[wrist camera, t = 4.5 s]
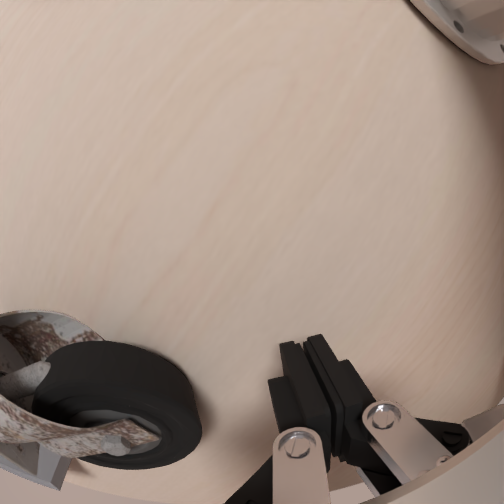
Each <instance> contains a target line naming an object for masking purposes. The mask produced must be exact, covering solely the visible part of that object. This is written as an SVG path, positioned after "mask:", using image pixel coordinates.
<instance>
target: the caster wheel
mask: <svg viewBox="0 0 504 504" xmlns="http://www.w3.org/2000/svg"><path fill="white" fill-rule="evenodd" d="M3 375H4V376H3ZM201 437H202V426H201V422H200V419H199V415H198V411H197V408H196V404H195V400H194V396H193V392H192V388H191V386H190V384H189V382H188V381H187V379H186V377H185V376H184V375H183V374H182V373H181V372H180V371H179V370H178V369H177V368H176V367H175V366H173V365H172V364H171V363H169V362H168V361H166V360H164V359H163V358H161V357H159V356H158V355H156V354H154V353H151V352H149V351H146V350H144V349H141V348H139V347H136V346H132V345H128V344H124V343H118V342H111V341H104V339H103V338H102V337H101V336H99V335H98V334H97V333H96V332H94V331H93V330H92V329H90V328H89V327H87V326H86V325H85V324H83V323H81V322H80V321H79V320H77V319H76V318H73V317H71V316H68V315H66V314H62V313H58V312H54V311H46V310H20V311H13V312H7V313H3V314H0V455H2V456H3V457H4V458H6V459H7V460H9V461H10V462H12V463H13V464H15V465H16V466H18V467H19V468H21V469H22V470H24V471H26V472H27V473H29V474H31V475H34V476H37V470H38V458H39V449H40V444H41V445H42V446H44V447H45V448H47V449H48V450H50V451H52V452H54V453H56V454H59V455H61V456H64V457H66V458H78V459H80V460H83V461H86V462H89V463H92V464H95V465H99V466H103V467H109V468H116V469H125V470H139V469H150V468H156V467H162V466H166V465H169V464H172V463H174V462H177V461H179V460H181V459H183V458H185V457H186V456H187V455H188V454H190V453H191V452H192V451H193V450H194V449H195V448H196V447H197V445H198V444H199V442H200V440H201Z"/></svg>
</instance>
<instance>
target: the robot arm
mask: <svg viewBox="0 0 504 504" xmlns="http://www.w3.org/2000/svg"><path fill="white" fill-rule="evenodd" d="M410 1H411V2H412V4H413V5H414V6H415V7H416V8H417V9H418V10H419V11H420V12H421V13H422V14H423V15H424V16H425V17H426V18H427V19H428V20H429V21H430V22H431V23H432V24H433V25H434V26H435V27H436V28H438V29H439V30H440V31H441V32H442V33H443V34H444V35H445V36H446V37H447V38H449V39H450V40H451V41H452V42H453V43H454V44H456V45H457V46H458V47H459V48H461V49H462V50H463V51H465V52H466V53H468V54H469V55H470V56H472V57H473V58H475V59H477V60H479V61H481V62H483V63H486V64H490V65H495V64H501V63H504V0H410ZM279 345H280V353H281V359H282V366H283V372H284V376H283V377H278V378H274V379H269V380H268V385H269V390H270V395H271V399H272V404H273V408H274V413H275V417H276V421H277V425H278V429H279V433H280V434H279V435H278V436H277V437H276V439H275V441H274V443H273V455H272V456H271V457H270V458H269V459H268V460H267V461H266V462H265V463H264V464H263V465H262V467H261V468H260V469H259V470H258V471H257V472H256V473H255V474H254V475H253V476H252V477H251V478H250V479H249V480H248V481H247V482H246V483H245V484H244V485H243V486H242V487H241V488H240V489H238V490H237V491H236V492H235V493H234V494H233V495H232V496H231V497H230V498H229V499H228V500H227V501H226V502H225V503H224V504H331V501H330V493H329V486H328V480H327V473H328V471H329V470H330V458H331V453H332V456H333V457H336V456H338V457H339V460H340V462H343V461H346V462H347V464H350V465H353V466H354V467H355V469H356V471H357V473H358V474H359V475H360V477H361V478H362V480H363V481H364V482H365V484H366V485H367V487H368V488H369V489H370V491H371V492H372V493H373V495H374V496H375V498H373V499H370V500H368V501H365V502H363V503H360V504H504V404H501V405H498V406H496V407H494V408H492V409H490V410H487V411H485V412H483V413H481V414H478V415H476V416H474V417H471V418H469V419H467V420H464V421H463V422H462V424H456V423H449V422H441V421H433V420H426V419H420V418H414V417H413V416H412V415H411V414H410V413H409V412H408V411H406V410H405V409H404V408H403V407H402V406H401V405H400V404H398V403H397V402H394V401H389V400H383V401H378V402H376V400H375V398H374V397H373V395H372V394H371V392H370V391H369V389H368V388H367V386H366V385H365V383H364V382H363V380H362V379H361V377H360V376H359V374H358V373H357V371H356V370H355V368H354V367H353V365H352V364H351V362H350V361H349V360H347V359H346V360H343V361H338V360H337V358H336V356H335V355H334V353H333V352H332V350H331V348H330V347H329V345H328V343H327V342H326V340H325V339H324V337H323V335H322V334H318V335H314V336H311V337H308V338H307V341H305V342H303V349H302V347H301V345H300V343H297V344H295V343H294V341H290V342H286V343H281V344H279ZM303 350H304V352H303Z"/></svg>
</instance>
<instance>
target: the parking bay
mask: <svg viewBox="0 0 504 504" xmlns="http://www.w3.org/2000/svg"><path fill="white" fill-rule="evenodd" d="M71 459H72V458H66V457H64V456H61V455H59V454H56V453H54V452H52V451H50V450H48V449H47V448H45V447H44V446H42V445H41V444H40V449H39V458H38V470H37V476H34V475H31V474H29V473H27V472H26V471H24V470H22V469H21V468H19V467H18V466H16V465H15V464H13V463H12V462H10V461H9V460H7V459H6V458H4V457H3V456H2V455H0V468H2V469H4V470H6V471H8V472H11V473H13V474H15V475H18V476H20V477H22V478H25V479H27V480H30V481H33V482H35V483H38V484H41V485H44V486H47V487H49V488H53V489H56V490H59V491H60V489H61V487H62V483H63V481H64V478H65V475H66V473H67V470H68V467H69V464H70V462H71Z"/></svg>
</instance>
